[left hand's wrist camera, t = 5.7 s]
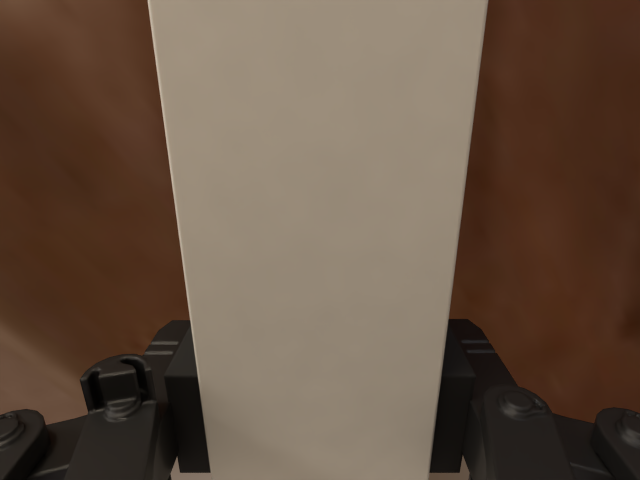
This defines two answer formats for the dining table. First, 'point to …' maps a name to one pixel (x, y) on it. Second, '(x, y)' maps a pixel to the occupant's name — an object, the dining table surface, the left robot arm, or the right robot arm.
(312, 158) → the post
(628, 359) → the dining table surface
